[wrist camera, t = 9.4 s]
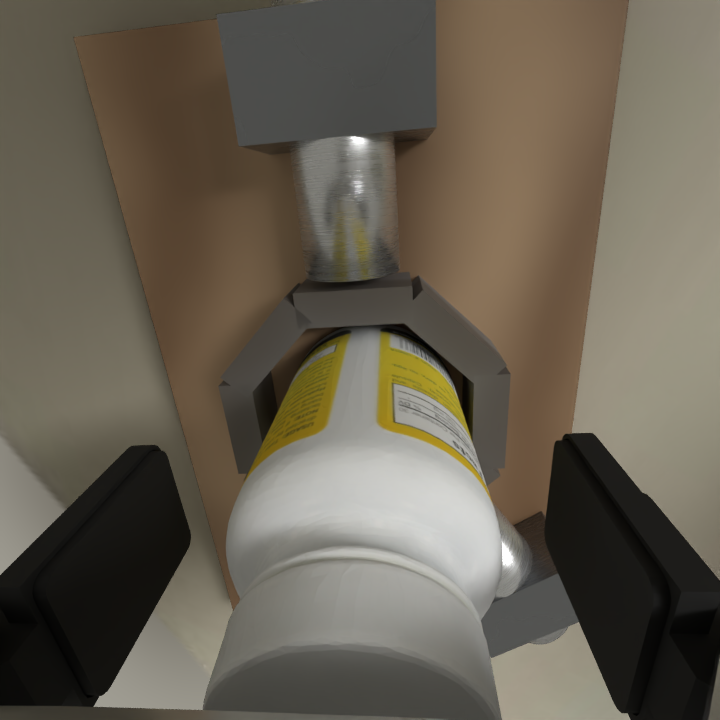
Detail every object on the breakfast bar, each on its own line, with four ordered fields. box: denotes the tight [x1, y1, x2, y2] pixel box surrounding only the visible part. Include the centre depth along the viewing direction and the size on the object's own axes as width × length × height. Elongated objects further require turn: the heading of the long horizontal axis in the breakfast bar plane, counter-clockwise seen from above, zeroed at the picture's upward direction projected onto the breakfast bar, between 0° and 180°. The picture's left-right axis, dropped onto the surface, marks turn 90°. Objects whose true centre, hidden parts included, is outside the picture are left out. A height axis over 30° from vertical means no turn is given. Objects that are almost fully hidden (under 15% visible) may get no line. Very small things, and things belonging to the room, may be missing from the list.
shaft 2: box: [481, 502, 579, 658], centre depth 16 cm, size 6×4×4 cm
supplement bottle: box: [203, 324, 503, 720], centre depth 10 cm, size 5×5×10 cm
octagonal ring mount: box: [74, 0, 629, 611], centre depth 14 cm, size 14×22×3 cm, turn 4°
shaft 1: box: [216, 0, 437, 282], centre depth 11 cm, size 6×4×4 cm
